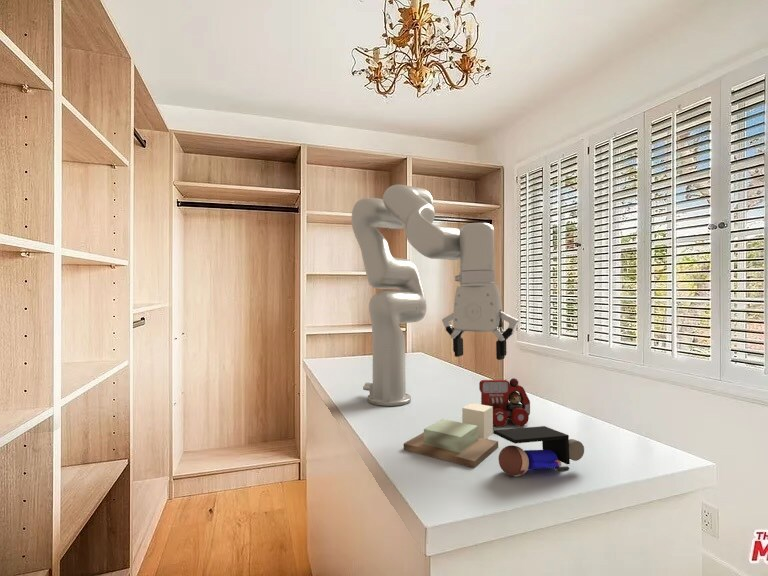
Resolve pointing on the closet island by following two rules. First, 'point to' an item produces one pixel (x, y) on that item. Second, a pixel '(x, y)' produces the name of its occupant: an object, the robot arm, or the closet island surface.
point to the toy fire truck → (505, 401)
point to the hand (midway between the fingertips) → (479, 357)
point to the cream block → (479, 418)
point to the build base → (454, 456)
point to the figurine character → (553, 451)
